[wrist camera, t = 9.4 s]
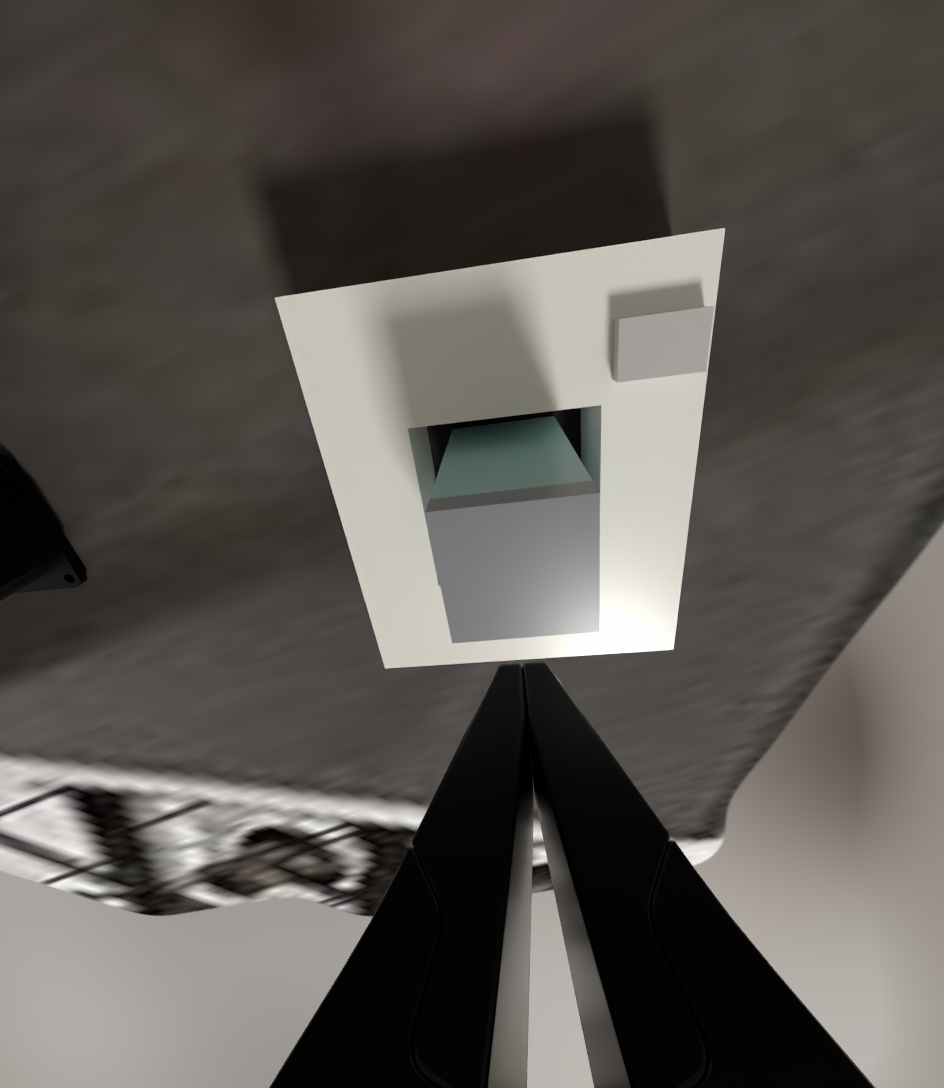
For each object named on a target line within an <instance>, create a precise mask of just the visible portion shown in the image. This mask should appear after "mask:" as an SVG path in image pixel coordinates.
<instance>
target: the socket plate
mask: <svg viewBox="0 0 944 1088" xmlns="http://www.w3.org/2000/svg"><path fill="white" fill-rule="evenodd" d="M724 234H725V228H722V229H715V230H709V231H702V232H696V233H689V234H683V235H677V236H670V237H664V238H657V239H651V240H644V241H638V242H631V243H625V244H618V245H612V246H605V247H599V248H592V249H586V250H579V251H573V252H567V253H560V254H554V255H547V256H541V257H534V258H528V259H521V260H515V261H508V262H502V263H495V264H489V265H482V266H476V267H469V268H463V269H456V270H450V271H444V272H437V273H431V274H424V275H418V276H411V277H405V278H398V279H392V280H385V281H379V282H372V283H366V284H359V285H353V286H346V287H340V288H334V289H327V290H321V291H314V292H308V293H301V294H295V295H288V296H282V297H275V301H276V304H277V307H278V311H279V314H280V317H281V321H282V324H283V327H284V331H285V334H286V337H287V341H288V344H289V348H290V351H291V354H292V358H293V361H294V364H295V368H296V371H297V374H298V378H299V381H300V384H301V388H302V391H303V394H304V398H305V401H306V405H307V408H308V411H309V415H310V418H311V421H312V425H313V428H314V431H315V435H316V438H317V441H318V445H319V448H320V451H321V455H322V458H323V462H324V465H325V468H326V472H327V475H328V478H329V482H330V485H331V488H332V492H333V495H334V498H335V502H336V505H337V508H338V512H339V515H340V519H341V522H342V525H343V529H344V532H345V535H346V539H347V542H348V545H349V549H350V552H351V555H352V559H353V562H354V565H355V569H356V572H357V576H358V579H359V582H360V586H361V589H362V592H363V596H364V599H365V602H366V606H367V609H368V612H369V616H370V619H371V622H372V626H373V629H374V633H375V636H376V639H377V643H378V646H379V649H380V653H381V656H382V659H383V663H384V666H385V668H399V667H414V666H430V665H445V664H460V663H476V662H491V661H507V660H522V659H537V658H553V657H568V656H583V655H599V654H614V653H629V652H645V651H660V650H673V649H674V641H675V632H676V624H677V616H678V608H679V600H680V592H681V584H682V576H683V567H684V559H685V551H686V543H687V535H688V527H689V519H690V510H691V502H692V494H693V486H694V478H695V470H696V462H697V454H698V445H699V437H700V429H701V421H702V413H703V405H704V397H705V389H706V380H707V372H708V364H709V356H710V348H711V340H712V332H713V323H714V315H715V307H716V299H717V291H718V283H719V275H720V267H721V258H722V250H723V242H724ZM574 408H581V462H582V464H583V465H584V467H585V469H586V470H587V472H588V474H589V475H590V477H591V479H592V481H593V482H594V484H595V486H596V487H597V489H598V491H599V492H600V615H599V632H590V633H577V634H565V635H552V636H539V637H527V638H514V639H501V640H489V641H476V642H463V643H452V640H451V635H450V630H449V625H448V621H447V616H446V611H445V606H444V601H443V596H442V592H441V587H440V582H439V577H438V572H437V567H436V562H435V558H434V553H433V548H432V543H431V538H430V533H429V529H428V524H427V519H426V514H425V511H426V508H427V505H428V502H429V499H430V496H431V493H432V490H433V487H434V484H435V481H436V476H435V471H434V465H433V459H432V454H431V448H430V442H429V436H428V431H427V426H432V425H441V424H449V423H457V422H466V421H474V420H482V419H491V418H499V417H507V416H516V415H524V414H532V413H541V412H549V411H557V410H566V409H574Z"/></svg>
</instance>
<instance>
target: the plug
mask: <svg viewBox="0 0 944 1088" xmlns="http://www.w3.org/2000/svg"><path fill="white" fill-rule="evenodd" d="M425 514H426V519H427V524H428V529H429V533H430V538H431V543H432V548H433V553H434V558H435V562H436V567H437V572H438V577H439V582H440V587H441V592H442V596H443V601H444V606H445V611H446V616H447V621H448V625H449V630H450V635H451V640H452V643H463V642H476V641H489V640H501V639H514V638H527V637H539V636H552V635H565V634H577V633H590V632H599V615H600V492H599V491H598V489H597V487H596V486H595V484H594V482H593V481H592V479H591V477H590V475H589V474H588V472H587V470H586V469H585V467H584V465H583V464H582V462H581V460H580V459H579V457H578V455H577V454H576V452H575V450H574V448H573V447H572V445H571V443H570V442H569V440H568V438H567V437H566V435H565V433H564V432H563V430H562V428H561V427H560V425H559V423H558V421H557V420H556V418H555V416H550V417H542V418H535V419H527V420H519V421H511V422H504V423H496V424H488V425H481V426H473V427H465V428H457V429H452V432H451V435H450V438H449V441H448V444H447V447H446V450H445V453H444V456H443V460H442V463H441V466H440V469H439V472H438V475H437V478H436V481H435V484H434V487H433V490H432V493H431V496H430V499H429V502H428V505H427V508H426V511H425Z"/></svg>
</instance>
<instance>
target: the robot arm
mask: <svg viewBox="0 0 944 1088" xmlns="http://www.w3.org/2000/svg"><path fill="white" fill-rule="evenodd" d="M86 580H87V575H86V573H85V572H84V570H83V568H82V567H81V565H80V564H79V562H78V561H77V559H76V558H75V556H74V555H73V553H72V551H71V550H70V548H69V547H68V545H67V544H66V542H65V541H64V539H63V538H62V536H61V535H60V533H59V531H58V530H57V528H56V527H55V525H54V524H53V522H52V521H51V519H50V518H49V516H48V515H47V513H46V511H45V510H44V508H43V507H42V505H41V504H40V502H39V501H38V499H37V498H36V496H35V494H34V493H33V491H32V490H31V488H30V487H29V485H28V484H27V482H26V481H25V479H24V478H23V476H22V474H21V473H20V471H19V470H18V468H17V467H16V465H15V464H14V463H13V461H12V460H10V459H9V458H8V457H6V456H4V455H0V601H1V600H3V599H5V598H6V597H8V596H10V595H12V594H13V593H18V592H29V591H40V590H51V589H62V588H73V587H78V586H80V585H81V584H83V583H84V582H85V581H86ZM523 677H524V679H523ZM529 743H530V745H529ZM530 754H531V756H530ZM531 764H532V767H531ZM532 775H533V778H532ZM533 784H534V792H535V799H536V804H537V810H538V815H539V820H540V825H541V829H542V834H543V839H544V844H545V849H546V854H547V859H548V864H549V868H550V873H551V878H552V883H553V888H554V893H555V897H556V902H557V907H558V912H559V917H560V922H561V927H562V932H563V936H564V942H565V946H566V951H567V956H568V961H569V966H570V971H571V976H572V980H573V985H574V990H575V995H576V1000H577V1005H578V1010H579V1015H580V1020H581V1025H582V1029H583V1034H584V1039H585V1044H586V1049H587V1054H588V1058H589V1063H590V1068H591V1073H592V1078H593V1083H594V1088H875V1087H874V1086H873V1085H872V1083H871V1082H870V1081H869V1080H868V1079H867V1077H866V1076H865V1075H864V1074H863V1073H862V1072H861V1070H860V1069H859V1068H858V1067H857V1066H856V1065H855V1063H854V1062H853V1061H852V1060H851V1059H850V1058H849V1056H848V1055H847V1054H846V1053H845V1052H844V1051H843V1049H842V1048H841V1047H840V1046H839V1045H838V1044H837V1043H836V1041H835V1040H834V1039H833V1038H832V1037H831V1035H830V1034H829V1033H828V1032H827V1031H826V1030H825V1028H824V1027H823V1026H822V1025H821V1024H820V1023H819V1021H818V1020H817V1019H816V1018H815V1017H814V1016H813V1014H812V1013H811V1012H810V1011H809V1010H808V1009H807V1007H806V1006H805V1005H804V1004H803V1003H802V1001H801V1000H800V999H799V998H798V997H797V996H796V994H795V993H794V992H793V991H792V990H791V989H790V987H789V986H788V985H787V984H786V983H785V982H784V980H783V979H782V978H781V977H780V976H779V975H778V974H777V972H776V971H775V970H774V969H773V967H772V966H771V965H770V964H769V963H768V961H767V960H766V959H765V958H764V957H763V955H762V954H761V953H760V952H759V950H758V949H757V948H756V947H755V946H754V944H753V943H752V942H751V941H750V940H749V938H748V937H747V936H746V935H745V933H744V932H743V931H742V930H741V929H740V927H739V926H738V925H737V924H736V923H735V921H734V920H733V919H732V918H731V916H730V915H729V914H728V912H727V911H726V910H725V909H724V907H723V906H722V905H721V903H720V902H719V901H718V899H717V898H716V897H715V895H714V894H713V893H712V891H711V890H710V889H709V887H708V886H707V885H706V883H705V882H704V881H703V879H702V878H701V877H700V875H699V874H698V873H697V871H696V870H695V869H694V867H693V866H692V865H691V863H690V862H689V860H688V859H687V858H686V856H685V855H684V853H683V852H682V851H681V849H680V848H679V846H678V845H677V844H676V842H675V841H672V840H671V841H670V834H669V833H668V832H667V830H666V829H665V827H664V826H663V825H662V823H661V822H660V820H659V819H658V818H657V816H656V815H655V813H654V812H653V811H652V809H651V808H650V806H649V805H648V804H647V802H646V801H645V799H644V798H643V797H642V795H641V794H640V793H639V791H638V790H637V788H636V787H635V786H634V784H633V783H632V781H631V780H630V779H629V777H628V776H627V774H626V773H625V772H624V770H623V769H622V767H621V766H620V765H619V763H618V762H617V760H616V759H615V758H614V756H613V755H612V754H611V752H610V751H609V749H608V748H607V747H606V745H605V744H604V742H603V741H602V740H601V738H600V737H599V735H598V734H597V733H596V731H595V730H594V728H593V727H592V726H591V724H590V723H589V721H588V720H587V719H586V717H585V716H584V714H583V713H582V712H581V710H580V709H579V708H578V706H577V705H576V703H575V702H574V701H573V699H572V698H571V696H570V695H569V694H568V692H567V691H566V689H565V688H564V687H563V685H562V684H561V682H560V681H559V680H558V678H557V677H556V675H555V674H554V673H553V671H552V670H551V669H550V667H549V666H548V665H547V664H546V663H545V662H530V663H525V664H524V665H523V668H522V665H521V664H519V663H514V664H501V665H500V666H498V668H497V670H496V672H495V674H494V676H493V678H492V680H491V682H490V684H489V686H488V688H487V690H486V692H485V694H484V696H483V698H482V700H481V702H480V704H479V706H478V708H477V710H476V712H475V714H474V716H473V718H472V720H471V722H470V724H469V726H468V729H467V731H466V733H465V735H464V737H463V739H462V741H461V743H460V745H459V747H458V749H457V751H456V753H455V755H454V757H453V759H452V761H451V763H450V765H449V767H448V769H447V771H446V773H445V775H444V777H443V779H442V781H441V783H440V785H439V787H438V789H437V791H436V793H435V795H434V797H433V800H432V802H431V804H430V806H429V808H428V810H427V812H426V814H425V816H424V818H423V820H422V822H421V824H420V826H419V828H418V830H417V832H416V834H415V836H414V838H413V840H412V847H413V848H412V847H409V848H408V850H407V852H406V854H405V856H404V858H403V860H402V862H401V864H400V866H399V868H398V870H397V872H396V874H395V876H394V878H393V880H392V882H391V884H390V886H389V887H388V889H387V891H386V893H385V895H384V897H383V899H382V901H381V903H380V905H379V906H378V908H377V910H376V912H375V914H374V916H373V918H372V920H371V922H370V923H369V925H368V927H367V928H366V930H365V932H364V933H363V935H362V937H361V938H360V940H359V942H358V944H357V945H356V947H355V949H354V951H353V952H352V954H351V955H350V957H349V959H348V961H347V962H346V964H345V966H344V967H343V969H342V971H341V972H340V974H339V976H338V977H337V979H336V980H335V982H334V984H333V985H332V987H331V989H330V990H329V992H328V993H327V995H326V997H325V998H324V1000H323V1002H322V1003H321V1005H320V1006H319V1008H318V1010H317V1011H316V1013H315V1015H314V1016H313V1018H312V1019H311V1021H310V1023H309V1024H308V1026H307V1028H306V1029H305V1031H304V1032H303V1034H302V1036H301V1037H300V1039H299V1040H298V1042H297V1044H296V1045H295V1047H294V1048H293V1050H292V1052H291V1053H290V1055H289V1057H288V1058H287V1060H286V1061H285V1063H284V1065H283V1066H282V1068H281V1070H280V1071H279V1073H278V1074H277V1076H276V1078H275V1079H274V1081H273V1083H272V1084H271V1086H270V1087H269V1088H527V1056H528V1053H527V1052H528V1016H529V1014H528V1013H529V975H530V972H529V971H530V934H531V933H530V932H531V894H532V853H533V812H534V794H533Z"/></svg>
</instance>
